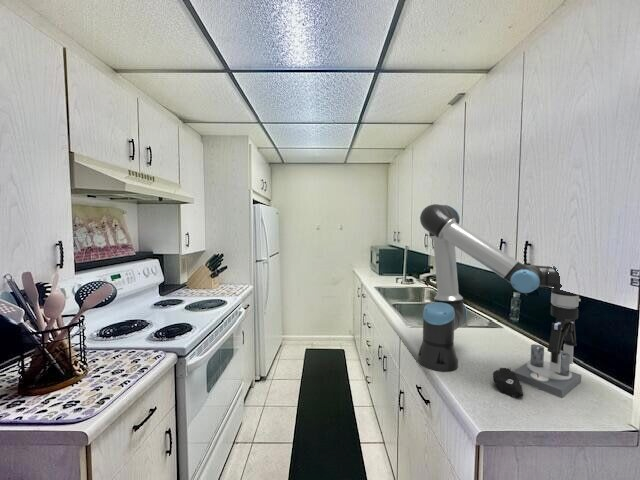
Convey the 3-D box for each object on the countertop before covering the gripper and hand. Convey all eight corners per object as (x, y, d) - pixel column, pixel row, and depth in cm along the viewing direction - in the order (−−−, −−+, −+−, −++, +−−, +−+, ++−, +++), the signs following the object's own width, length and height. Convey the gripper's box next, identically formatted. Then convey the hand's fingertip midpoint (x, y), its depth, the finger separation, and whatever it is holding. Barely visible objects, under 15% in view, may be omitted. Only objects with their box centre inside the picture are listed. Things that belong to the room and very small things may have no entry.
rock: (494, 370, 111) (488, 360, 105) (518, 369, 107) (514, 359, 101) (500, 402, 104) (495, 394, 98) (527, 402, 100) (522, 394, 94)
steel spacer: (566, 377, 103) (567, 357, 103) (552, 372, 107) (553, 353, 106) (571, 374, 105) (571, 354, 105) (557, 369, 109) (558, 350, 108)
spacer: (540, 368, 110) (541, 349, 109) (528, 364, 113) (529, 346, 113) (545, 365, 112) (546, 347, 111) (533, 361, 115) (533, 343, 115)
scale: (561, 397, 97) (562, 387, 97) (511, 377, 110) (511, 368, 109) (581, 381, 107) (581, 372, 107) (533, 365, 120) (533, 356, 119)
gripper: (565, 314, 95) (561, 381, 96) (589, 303, 108) (586, 362, 109) (537, 308, 101) (535, 371, 103) (563, 298, 114) (561, 354, 116)
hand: (561, 366), depth 106 cm, fingers open, 11 cm apart
